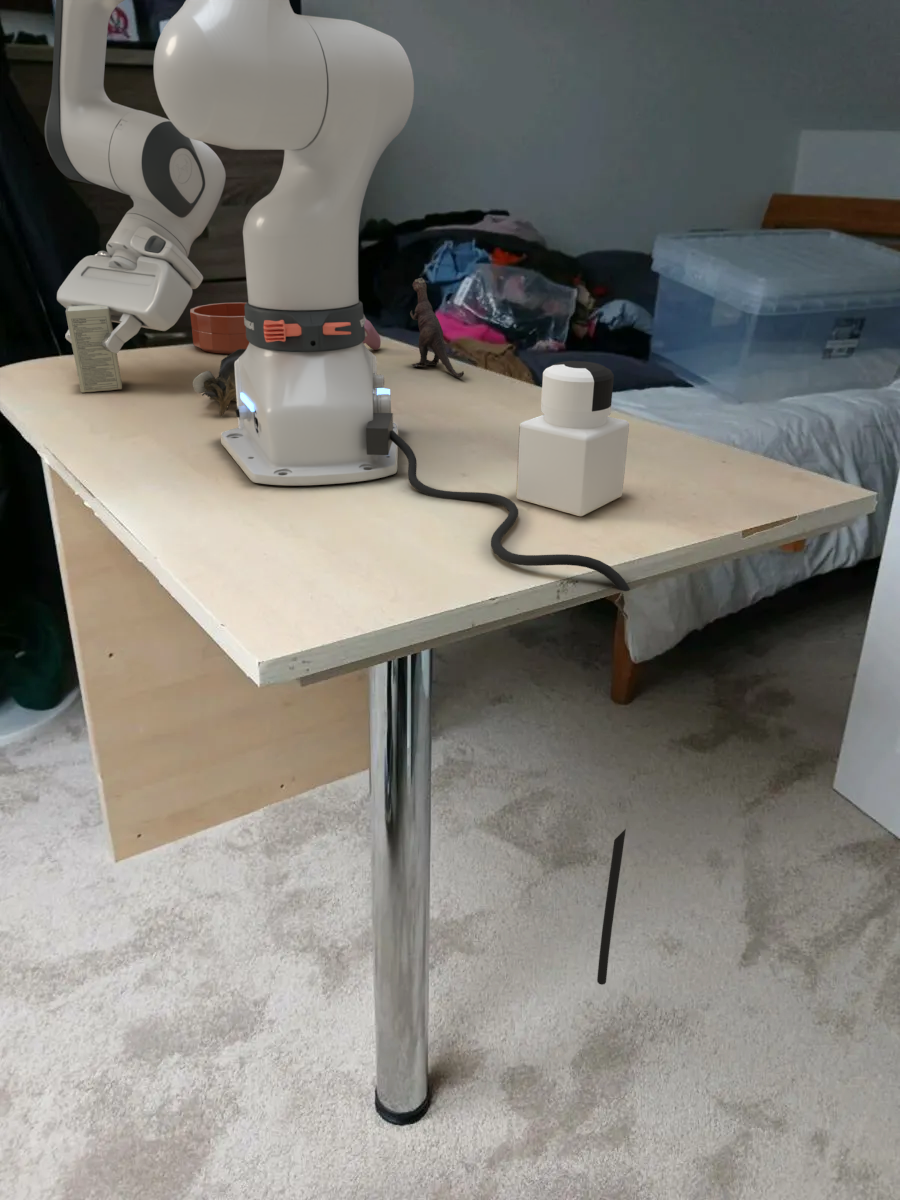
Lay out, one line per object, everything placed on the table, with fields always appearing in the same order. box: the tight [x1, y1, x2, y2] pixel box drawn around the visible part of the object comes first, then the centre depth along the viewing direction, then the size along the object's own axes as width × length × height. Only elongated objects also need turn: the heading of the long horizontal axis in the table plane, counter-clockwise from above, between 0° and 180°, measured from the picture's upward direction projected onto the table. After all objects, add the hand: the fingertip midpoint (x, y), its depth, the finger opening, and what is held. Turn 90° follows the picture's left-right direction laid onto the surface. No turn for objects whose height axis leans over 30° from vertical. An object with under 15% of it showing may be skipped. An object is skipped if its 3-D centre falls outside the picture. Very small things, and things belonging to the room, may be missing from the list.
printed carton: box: [65, 305, 123, 393], centre depth 118 cm, size 5×4×10 cm
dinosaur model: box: [409, 277, 465, 378], centre depth 129 cm, size 4×12×15 cm
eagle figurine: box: [192, 349, 246, 417], centre depth 111 cm, size 8×7×9 cm
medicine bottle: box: [515, 360, 630, 517], centre depth 83 cm, size 7×7×12 cm
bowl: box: [189, 302, 249, 355], centre depth 144 cm, size 13×13×6 cm
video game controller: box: [363, 317, 382, 351], centre depth 142 cm, size 10×5×7 cm, turn 73°
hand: (90, 345), depth 118 cm, fingers closed on printed carton, 6 cm apart
